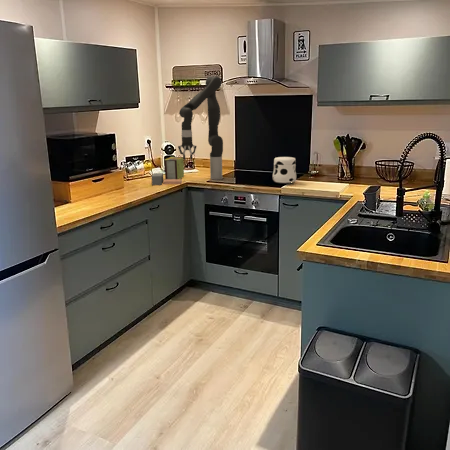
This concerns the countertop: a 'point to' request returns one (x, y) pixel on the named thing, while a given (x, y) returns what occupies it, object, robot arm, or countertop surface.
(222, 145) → the robot arm
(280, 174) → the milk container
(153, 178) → the overhang dock
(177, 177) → the protein box
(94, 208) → the countertop surface
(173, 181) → the shell plate
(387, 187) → the countertop surface
